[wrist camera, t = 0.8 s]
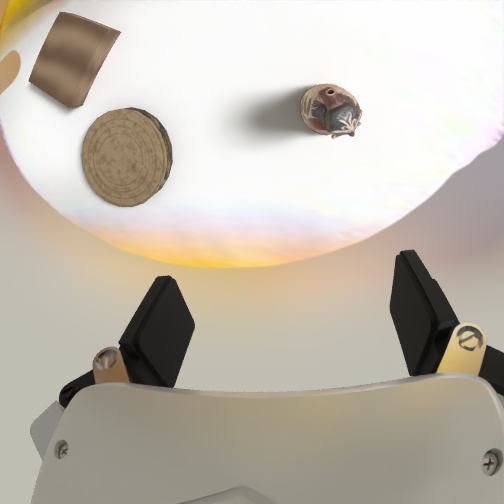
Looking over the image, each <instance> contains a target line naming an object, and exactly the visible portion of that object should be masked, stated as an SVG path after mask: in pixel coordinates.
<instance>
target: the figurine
mask: <svg viewBox="0 0 504 504" xmlns="http://www.w3.org/2000/svg"><path fill="white" fill-rule="evenodd" d="M300 111H301V116H302V118H303V120H304V122H305V124H306V125H307V126H308V127H309V128H310V129H311V130H313V131H315V132H317V133H319V134H323V135H331V134H333V135H332V139H334V138H337V137H338V136H341V135H345V134H348V135H350V136H354V131H355V129H356V127H358V126H359V125H360V124H361V123H360V122H359V120H360V118H361V115H362V110H361V109H360V107H359V104H358V102H357V100H356V99H355V98H354V96H353V95H351V94H350V93H349V92H348V91H346V90H345V89H343V88H341V87H339V86H337V85H333V84H320V85H317V86H315V87H312V88H311V89H310V90H308V91H307V92H306V93H305V95H304V96H303V98H302V101H301V104H300Z"/></svg>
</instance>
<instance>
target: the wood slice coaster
mask: <svg viewBox="0 0 504 504" xmlns="http://www.w3.org/2000/svg"><path fill="white" fill-rule="evenodd" d="M82 162H83V170H84V172H85V175H86V177H87V180H88V182H89V184H90V185H91V187H92V188H93V189H94V191H95V192H96V193H97V194H98V195H99V196H100V197H101V198H103V199H104V200H105V201H107V202H108V203H111V204H114V205H116V206H119V207H134V206H137V205H140V204H142V203H145V202H146V201H147V200H148V199H149V198H151V197H152V196H153V195H154V194H155V193H157V192H158V191H159V190H160V189H161V188H162V187H163V185H164V184H165V182H166V180H167V179H168V177H169V174H170V170H171V166H172V162H173V160H172V145H171V142H170V139H169V136H168V134H167V131H166V129H165V128H164V127H163V125H162V124H161V123H160V121H159V120H158V119H157V118H156V117H154V116H153V115H151V114H150V113H148V112H147V111H145V110H141V109H137V108H132V107H131V108H124V109H118V110H113V111H109V112H107V113H105V114H103V115H102V116H100V117H99V118H97V119H96V121H95V122H94V123H93V124H92V125H91V127H90V128H89V129H88V132H87V134H86V136H85V139H84V141H83V148H82Z"/></svg>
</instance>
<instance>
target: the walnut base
mask: <svg viewBox="0 0 504 504" xmlns="http://www.w3.org/2000/svg"><path fill="white" fill-rule="evenodd" d="M120 33H121V32H120V31H118V30H115V29H113V28H110V27H108V26H105V25H103V24H100V23H98V22H95V21H92V20H90V19H87V18H84V17H81V16H78V15H75V14H71V13H66V12H60V13H59V14H58V16H57V18H56V20H55V22H54V24H53V26H52V27H51V29H50V31H49V33H48V35H47V38H46V40H45V42H44V44H43V46H42V48H41V51H40V53H39V55H38V58H37V60H36V62H35V65H34V67H33V70H32V73H31V75H30V78H29V82H31V83H32V84H34V85H35V86H37V87H38V88H40V89H41V90H43V91H44V92H46V93H48V94H49V95H51V96H52V97H54V98H55V99H57V100H58V101H60V102H61V103H63V104H64V105H66V106H67V107H69V108H71V107H76V106H82V105H83V103H84V101H85V99H86V97H87V94H88V92H89V90H90V88H91V86H92V84H93V82H94V80H95V78H96V76H97V74H98V72H99V70H100V68H101V66H102V64H103V62H104V60H105V58H106V57H107V55H108V53H109V51H110V50H111V48H112V46H113V44H114V43H115V41H116V40H117V38H118V36H119V35H120Z"/></svg>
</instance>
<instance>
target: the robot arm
mask: <svg viewBox="0 0 504 504" xmlns="http://www.w3.org/2000/svg"><path fill="white" fill-rule="evenodd" d="M390 313H391V316H392V319H393V322H394V325H395V328H396V331H397V334H398V338H399V340H400V344H401V347H402V350H403V354H404V358H405V361H406V364H407V368H408V372H409V375H410V376H414V377H409V378H404V379H399V380H392V381H386V382H380V383H373V384H366V385H359V386H351V387H342V388H333V389H322V390H308V391H291V392H220V391H202V390H201V391H200V390H189V389H188V390H187V389H177V388H173V387H174V385H175V383H176V380H177V376H178V374H179V371H180V368H181V365H182V362H183V360H184V356H185V354H186V351H187V348H188V345H189V343H190V340H191V337H192V334H193V331H194V328H195V323H194V320H193V318H192V316H191V314H190V312H189V309H188V307H187V305H186V303H185V301H184V298H183V296H182V294H181V291H180V289H179V287H178V285H177V282H176V280H175V279H173V278H172V277H171V276H169V275H168V276H158V277H157V278H156V279H155V281H154V282H153V284H152V286H151V287H150V289H149V291H148V292H147V294H146V295H145V297H144V299H143V301H142V302H141V304H140V305H139V307H138V309H137V311H136V312H135V314H134V316H133V317H132V319H131V321H130V323H129V324H128V326H127V328H126V330H125V331H124V333H123V335H122V337H121V339H120V340H119V342H118V343H119V344H120V347H119V349H118V348H116V347H107V348H104V349H103V350H101V351H100V352H99V353H98V354H97V355H96V357H95V358H94V360H93V370H91V371H90V372H87V373H86V374H84V375H82V376H80V377H79V378H77V379H75V380H73V381H72V382H70V383H68V384H67V385H66V386H64V387H63V389H62V390H61V392H60V395H59V402H57V401H55V402H54V403H53V404H52V405H51V406H50V407H48V409H46V410H45V411H44V412H43V413H42V414H41V415H40V416H39V417H38V418H37V419H36V420H35V421H34V422H33V423H32V425H31V428H30V434H31V437H32V439H33V441H34V444H35V446H36V448H37V450H38V452H39V454H40V456H41V458H42V460H43V462H42V465H41V468H40V471H39V474H38V478H37V481H36V485H35V488H34V492H33V496H32V500H31V504H504V353H503V352H501V351H499V350H496V349H494V348H492V347H490V346H488V345H487V338H486V334H485V333H484V331H483V330H482V329H481V328H480V327H479V326H477V325H475V324H473V323H462V324H460V323H459V321H458V319H457V317H456V315H455V313H454V311H453V309H452V307H451V305H450V304H449V302H448V300H447V298H446V296H445V295H444V293H443V291H442V290H441V288H440V286H439V284H438V283H437V281H436V280H435V279H432V278H431V276H430V274H429V272H428V271H427V269H426V268H425V266H424V264H423V263H422V261H421V260H420V258H419V257H418V255H417V253H416V252H415V251H414V250H405V251H401V252H400V254H399V255H397V256H396V260H395V270H394V279H393V286H392V294H391V301H390Z"/></svg>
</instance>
